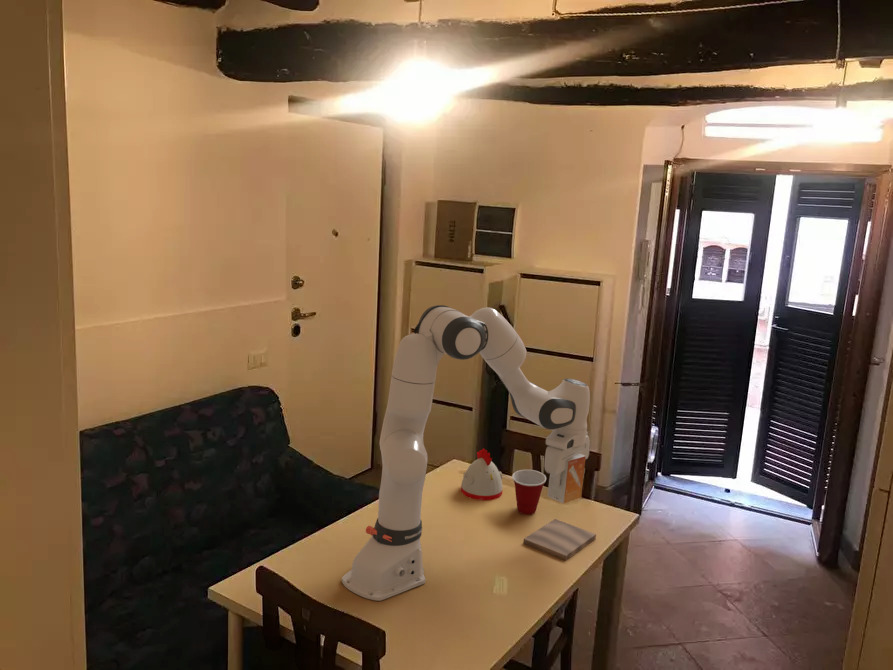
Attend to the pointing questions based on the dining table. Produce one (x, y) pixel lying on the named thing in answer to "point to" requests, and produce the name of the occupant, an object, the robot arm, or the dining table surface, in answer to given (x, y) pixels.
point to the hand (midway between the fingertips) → (565, 480)
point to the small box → (569, 481)
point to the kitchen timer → (482, 479)
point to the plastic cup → (528, 490)
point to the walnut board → (559, 539)
